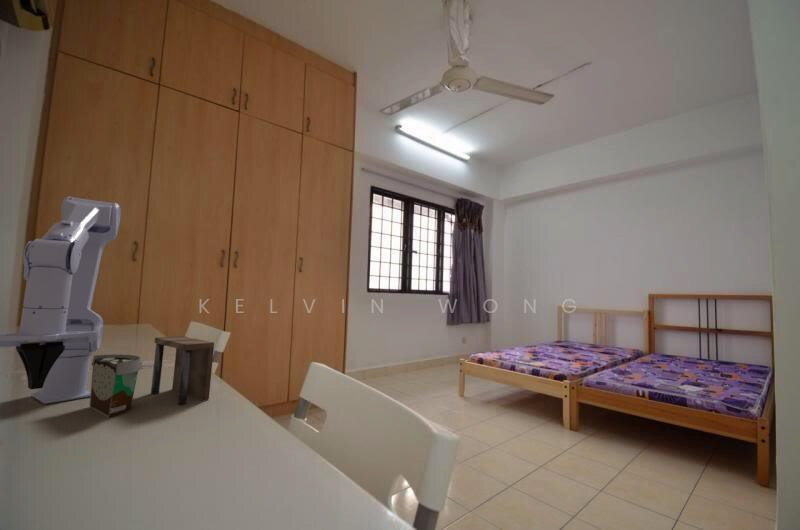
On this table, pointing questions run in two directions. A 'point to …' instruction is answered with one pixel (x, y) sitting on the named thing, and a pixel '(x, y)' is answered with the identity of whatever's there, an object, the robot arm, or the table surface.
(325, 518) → the table surface
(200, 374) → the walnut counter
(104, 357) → the food container
